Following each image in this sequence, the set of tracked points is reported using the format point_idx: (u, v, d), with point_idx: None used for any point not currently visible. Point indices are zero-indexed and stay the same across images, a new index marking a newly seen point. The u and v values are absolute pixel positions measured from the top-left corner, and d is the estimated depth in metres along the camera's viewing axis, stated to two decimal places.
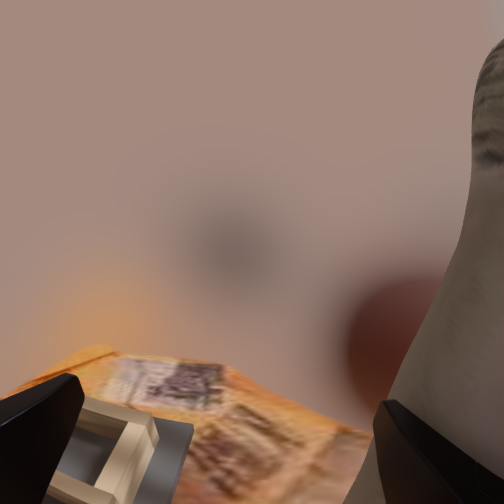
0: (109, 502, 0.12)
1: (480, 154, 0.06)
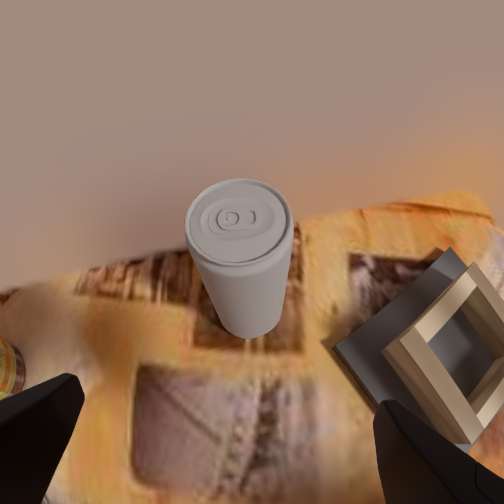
0: (477, 436, 0.13)
1: None
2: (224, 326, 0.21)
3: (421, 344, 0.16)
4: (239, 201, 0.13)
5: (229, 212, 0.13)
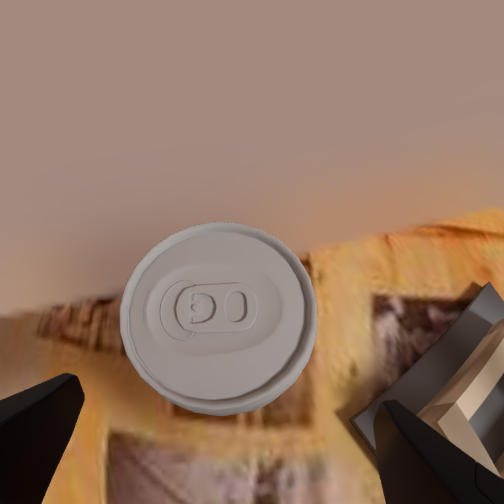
0: None
1: None
2: None
3: (461, 423, 0.10)
4: (218, 270, 0.07)
5: (198, 293, 0.07)
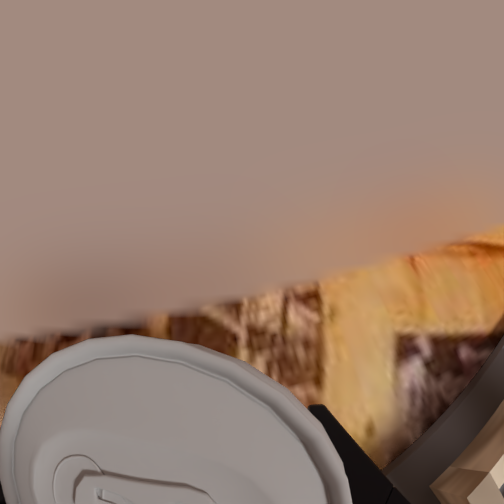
0: None
1: None
2: None
3: (492, 493, 0.06)
4: (142, 452, 0.02)
5: (110, 491, 0.02)
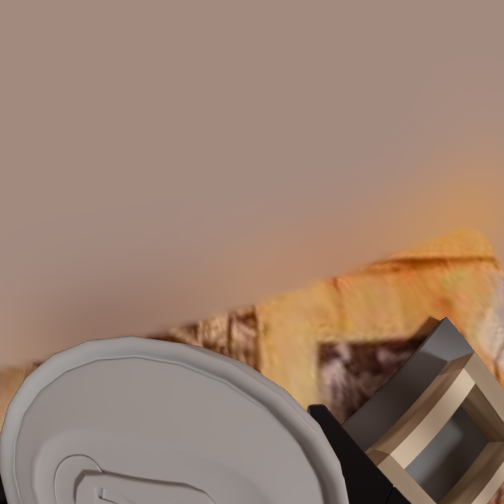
0: None
1: None
2: None
3: (397, 472, 0.12)
4: (142, 452, 0.03)
5: (109, 490, 0.02)
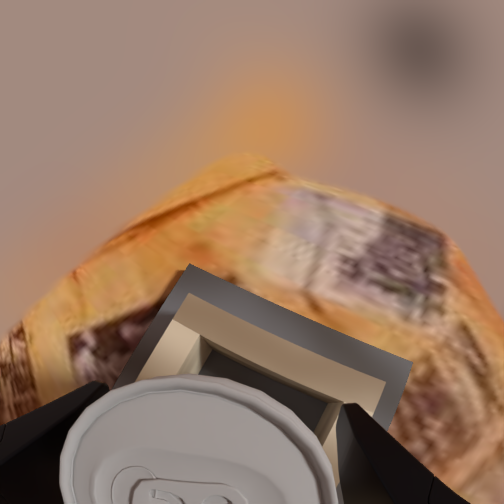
0: None
1: None
2: None
3: None
4: (189, 461, 0.04)
5: (161, 491, 0.03)
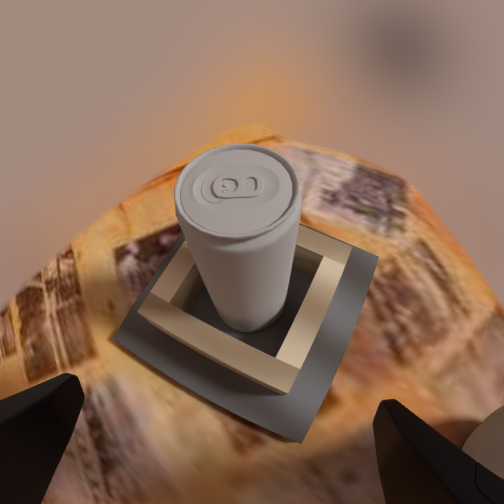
0: (294, 381, 0.15)
1: None
2: (221, 318, 0.19)
3: (162, 306, 0.17)
4: (239, 167, 0.11)
5: (227, 178, 0.11)
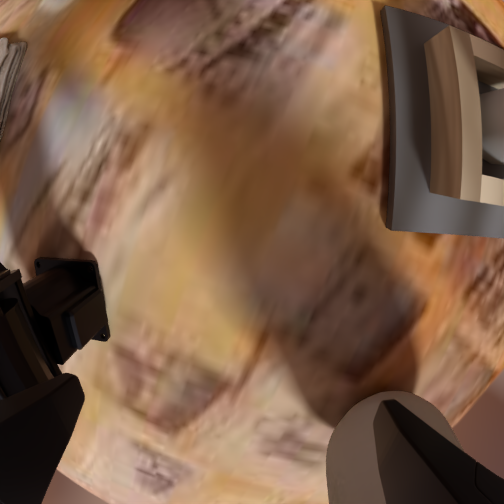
0: (469, 200, 0.12)
1: None
2: None
3: (468, 49, 0.10)
4: None
5: None
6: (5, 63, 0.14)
